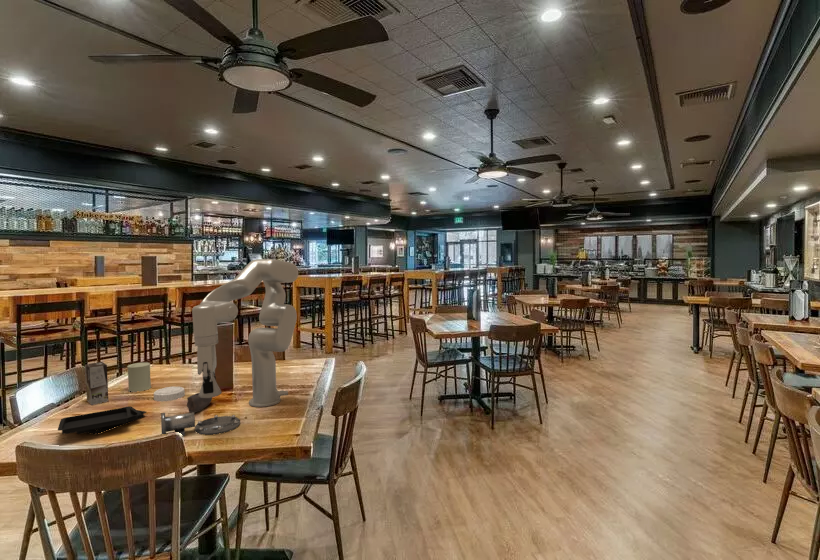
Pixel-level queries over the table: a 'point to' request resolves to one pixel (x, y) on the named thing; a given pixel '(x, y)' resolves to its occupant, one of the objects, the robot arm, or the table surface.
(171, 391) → the mooncake
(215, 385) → the flask
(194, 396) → the perforated stone tool
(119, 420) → the tray
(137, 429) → the table surface
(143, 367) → the can
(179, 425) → the pipe fitting
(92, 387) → the coffee box
